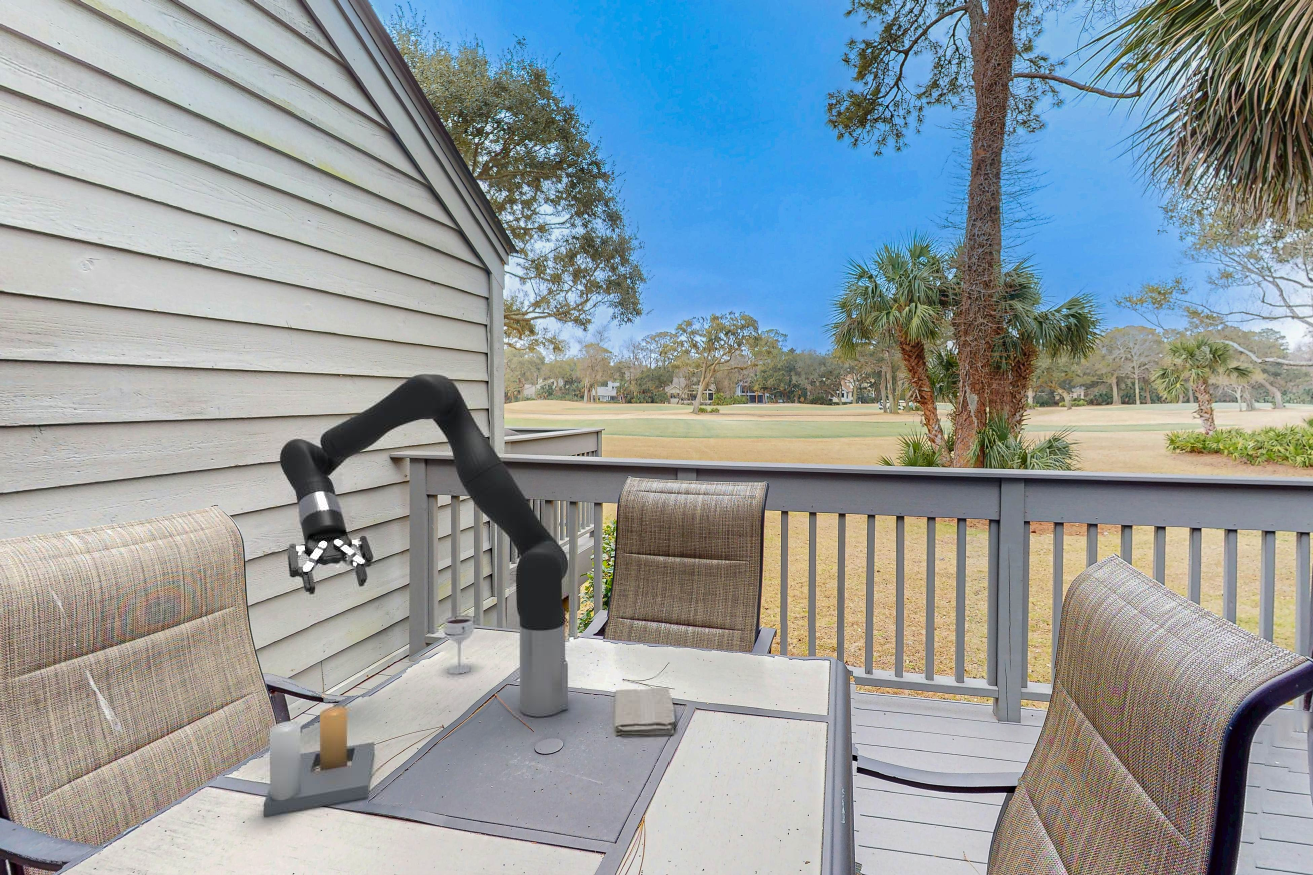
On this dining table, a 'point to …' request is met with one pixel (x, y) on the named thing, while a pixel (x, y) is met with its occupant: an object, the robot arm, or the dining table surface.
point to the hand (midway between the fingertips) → (338, 587)
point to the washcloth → (643, 712)
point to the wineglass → (459, 635)
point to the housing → (312, 774)
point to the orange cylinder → (333, 738)
